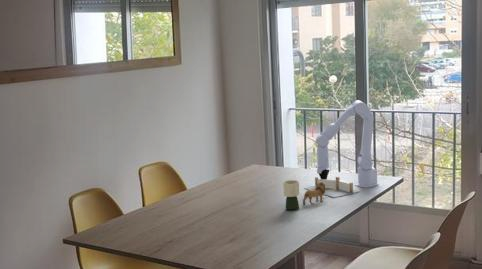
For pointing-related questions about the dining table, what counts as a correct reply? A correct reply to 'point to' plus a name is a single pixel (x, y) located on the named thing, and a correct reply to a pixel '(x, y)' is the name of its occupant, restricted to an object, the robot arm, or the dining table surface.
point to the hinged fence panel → (326, 182)
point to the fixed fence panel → (344, 185)
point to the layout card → (333, 192)
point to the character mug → (291, 194)
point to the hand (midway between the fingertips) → (324, 183)
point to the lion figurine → (315, 193)
